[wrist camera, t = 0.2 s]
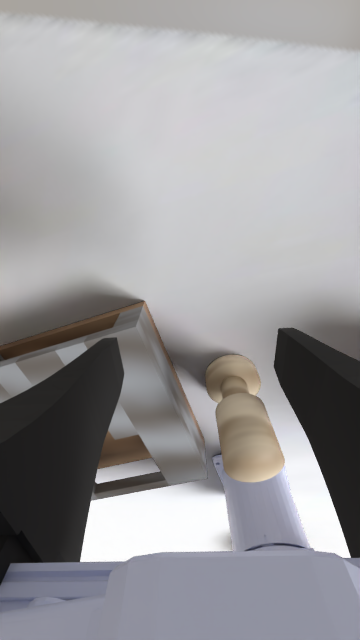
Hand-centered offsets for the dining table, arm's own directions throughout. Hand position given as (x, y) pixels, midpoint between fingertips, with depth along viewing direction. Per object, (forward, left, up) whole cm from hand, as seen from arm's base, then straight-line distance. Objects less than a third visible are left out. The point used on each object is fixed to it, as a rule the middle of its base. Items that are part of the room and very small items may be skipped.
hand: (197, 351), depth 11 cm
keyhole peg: (-10, -1, -10) cm, 14 cm away
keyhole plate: (-9, +12, -10) cm, 18 cm away
